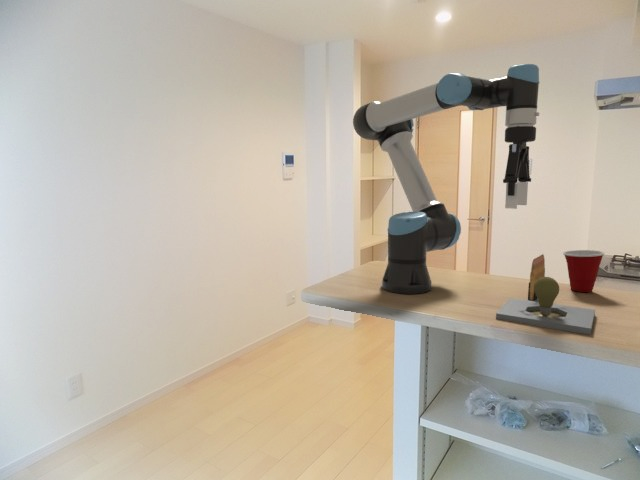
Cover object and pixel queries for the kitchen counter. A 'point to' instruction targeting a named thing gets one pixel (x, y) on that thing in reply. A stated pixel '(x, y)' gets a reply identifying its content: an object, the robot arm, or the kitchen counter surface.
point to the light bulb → (546, 294)
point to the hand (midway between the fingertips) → (516, 206)
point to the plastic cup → (583, 268)
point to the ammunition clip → (536, 275)
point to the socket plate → (558, 319)
